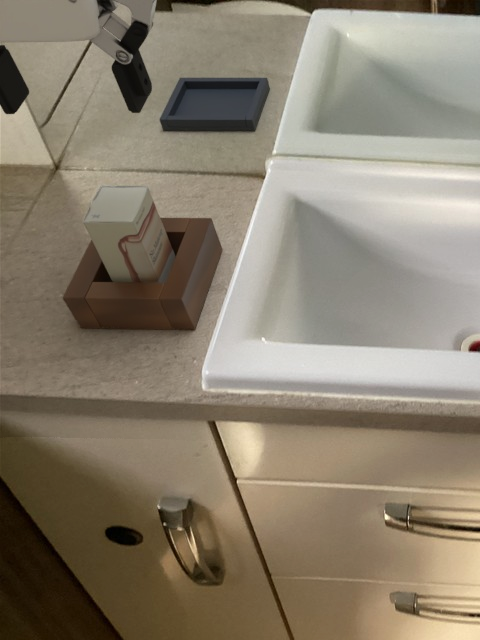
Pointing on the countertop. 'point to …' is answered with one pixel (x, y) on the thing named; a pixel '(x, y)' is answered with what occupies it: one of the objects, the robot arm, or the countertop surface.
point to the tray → (215, 104)
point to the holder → (149, 284)
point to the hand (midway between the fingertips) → (79, 103)
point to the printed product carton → (129, 234)
